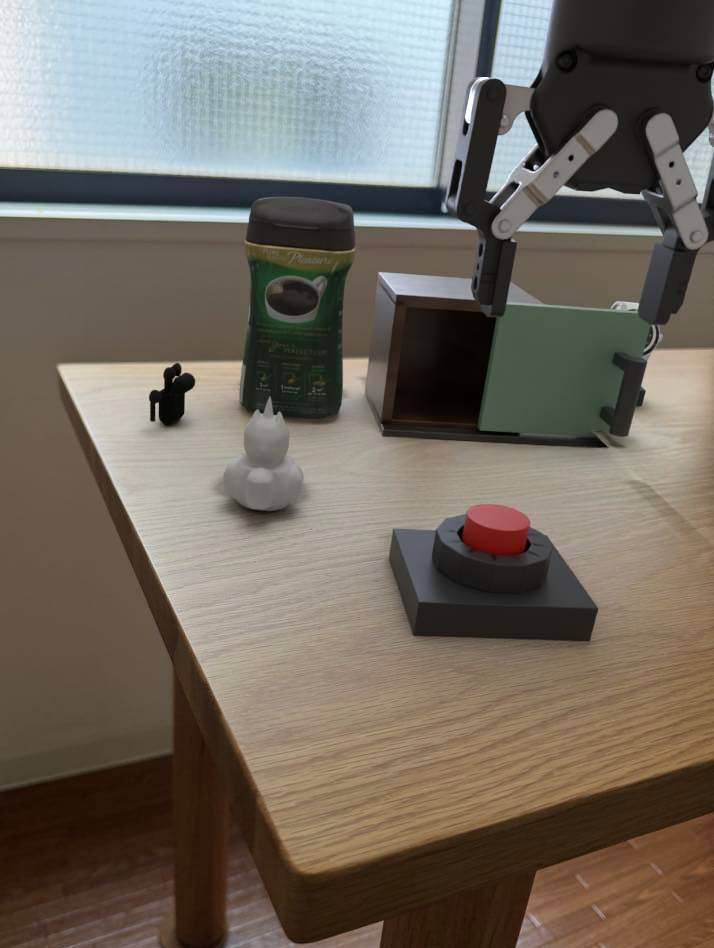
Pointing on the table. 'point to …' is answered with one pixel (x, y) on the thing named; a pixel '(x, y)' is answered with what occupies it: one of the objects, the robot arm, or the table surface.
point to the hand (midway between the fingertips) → (572, 317)
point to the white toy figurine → (264, 465)
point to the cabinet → (437, 361)
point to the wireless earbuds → (171, 395)
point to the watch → (651, 341)
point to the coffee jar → (296, 306)
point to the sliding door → (564, 370)
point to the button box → (488, 588)
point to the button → (496, 529)
